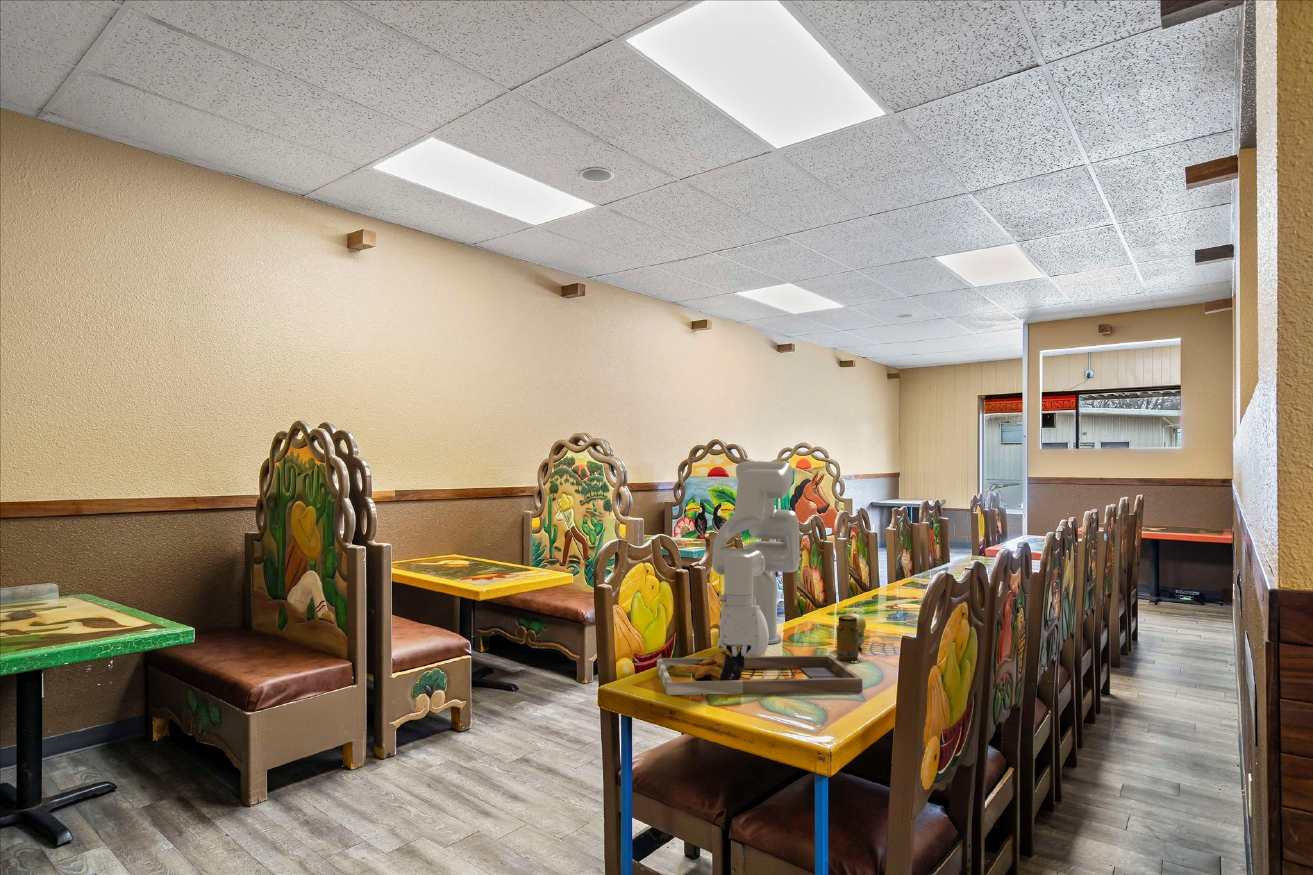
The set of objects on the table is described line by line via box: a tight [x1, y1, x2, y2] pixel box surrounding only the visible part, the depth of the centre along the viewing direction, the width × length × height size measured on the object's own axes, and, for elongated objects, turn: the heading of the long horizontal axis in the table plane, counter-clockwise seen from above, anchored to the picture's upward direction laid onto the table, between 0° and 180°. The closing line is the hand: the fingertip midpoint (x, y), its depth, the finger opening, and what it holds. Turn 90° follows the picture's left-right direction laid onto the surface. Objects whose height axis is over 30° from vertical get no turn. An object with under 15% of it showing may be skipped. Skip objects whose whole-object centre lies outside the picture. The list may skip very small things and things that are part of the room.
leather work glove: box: [666, 650, 742, 681], centre depth 185 cm, size 9×11×18 cm
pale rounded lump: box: [843, 610, 867, 647], centre depth 224 cm, size 8×7×12 cm
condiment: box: [832, 615, 869, 664], centre depth 211 cm, size 7×8×12 cm
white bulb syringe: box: [746, 597, 769, 657], centre depth 210 cm, size 8×8×18 cm
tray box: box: [656, 654, 863, 696], centre depth 189 cm, size 22×49×3 cm, turn 97°
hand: (737, 670), depth 189 cm, fingers closed
